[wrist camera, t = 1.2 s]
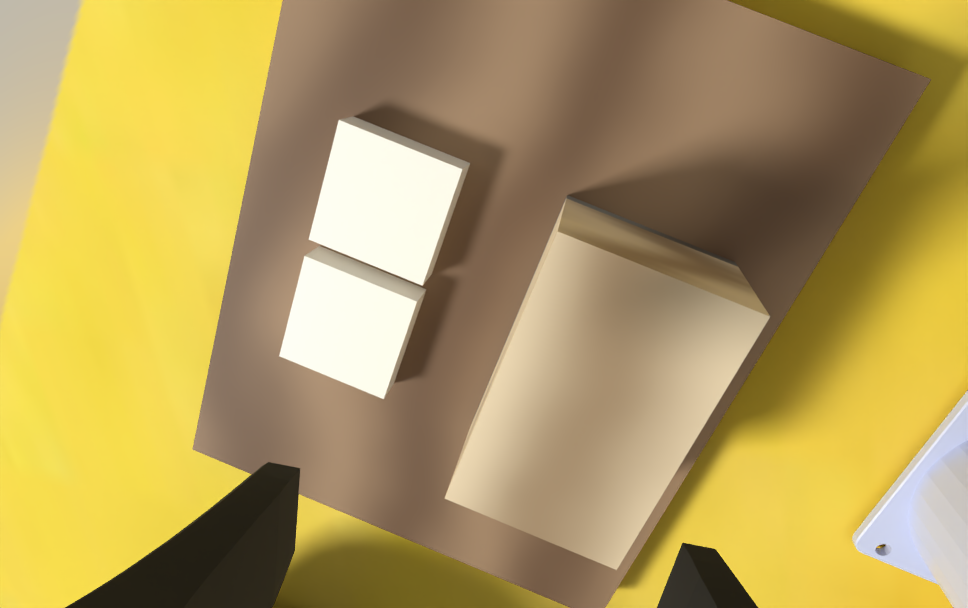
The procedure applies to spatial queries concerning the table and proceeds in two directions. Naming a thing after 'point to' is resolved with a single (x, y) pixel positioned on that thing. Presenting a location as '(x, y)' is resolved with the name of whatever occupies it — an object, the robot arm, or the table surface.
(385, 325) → the paint flake
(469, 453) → the block
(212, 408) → the walnut board
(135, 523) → the table surface
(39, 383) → the table surface
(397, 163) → the paint flake
